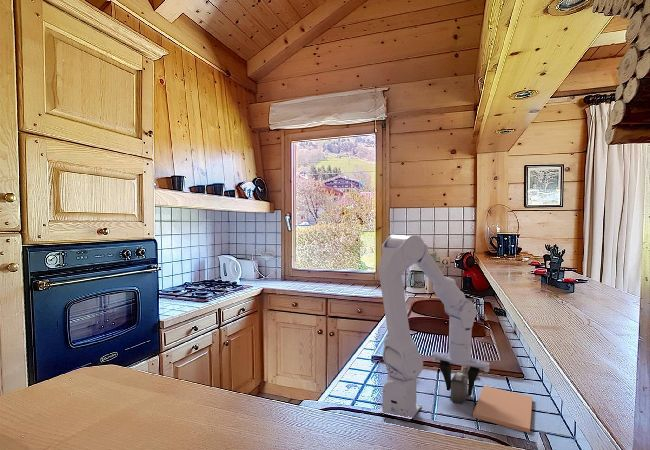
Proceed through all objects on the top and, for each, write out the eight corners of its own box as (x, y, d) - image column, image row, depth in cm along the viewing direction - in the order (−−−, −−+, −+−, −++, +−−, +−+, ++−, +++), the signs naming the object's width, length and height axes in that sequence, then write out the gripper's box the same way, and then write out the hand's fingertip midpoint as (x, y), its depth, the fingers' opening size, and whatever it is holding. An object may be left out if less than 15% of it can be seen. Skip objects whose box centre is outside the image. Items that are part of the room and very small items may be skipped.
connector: (462, 405, 92) (463, 381, 92) (449, 401, 94) (449, 378, 94) (468, 392, 99) (469, 370, 99) (456, 389, 101) (456, 367, 101)
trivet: (529, 433, 80) (529, 428, 80) (473, 417, 86) (473, 413, 86) (532, 400, 95) (532, 396, 95) (483, 389, 101) (484, 385, 101)
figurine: (480, 376, 110) (477, 356, 110) (470, 379, 108) (468, 359, 108) (466, 372, 114) (464, 353, 115) (457, 375, 112) (454, 356, 113)
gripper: (491, 343, 96) (490, 392, 96) (436, 333, 104) (436, 379, 103) (487, 350, 90) (486, 403, 90) (430, 339, 98) (429, 389, 98)
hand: (459, 391), depth 96 cm, fingers open, 5 cm apart
